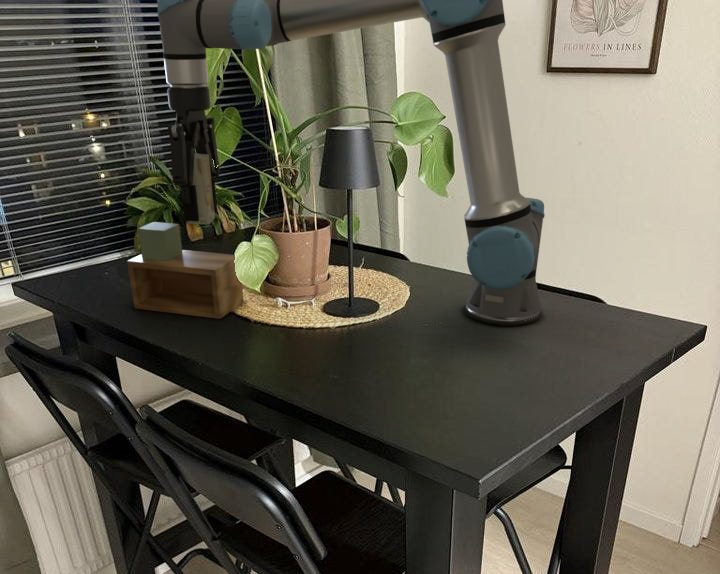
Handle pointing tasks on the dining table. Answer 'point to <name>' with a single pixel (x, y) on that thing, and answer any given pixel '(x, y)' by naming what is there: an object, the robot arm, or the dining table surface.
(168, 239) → the sage box
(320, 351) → the dining table surface
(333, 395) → the dining table surface
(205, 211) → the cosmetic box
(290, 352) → the dining table surface
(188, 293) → the shelf
